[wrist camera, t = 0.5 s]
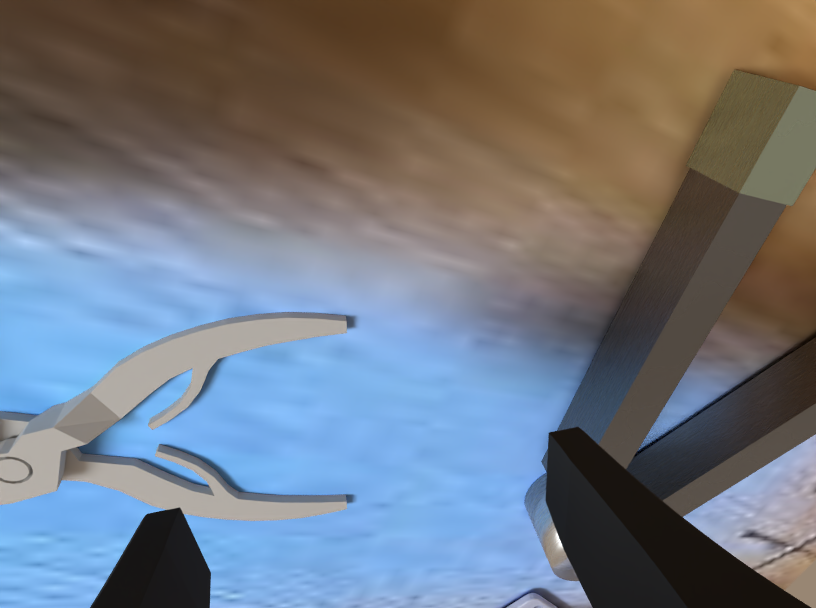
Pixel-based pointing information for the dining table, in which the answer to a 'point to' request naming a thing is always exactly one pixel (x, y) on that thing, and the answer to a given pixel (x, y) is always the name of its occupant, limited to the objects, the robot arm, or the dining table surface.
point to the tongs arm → (698, 256)
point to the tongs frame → (711, 446)
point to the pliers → (155, 426)
